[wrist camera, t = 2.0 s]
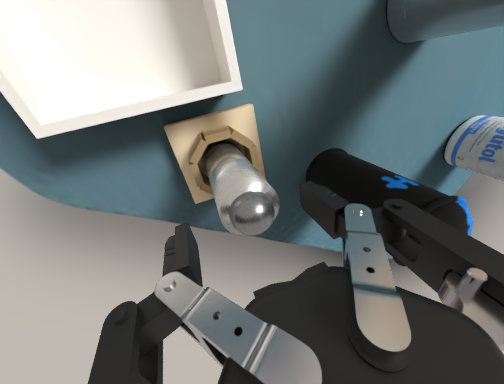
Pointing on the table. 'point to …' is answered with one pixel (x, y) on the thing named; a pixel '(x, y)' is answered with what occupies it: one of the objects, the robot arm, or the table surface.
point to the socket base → (208, 131)
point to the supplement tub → (478, 146)
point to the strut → (239, 190)
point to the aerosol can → (384, 189)
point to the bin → (111, 58)
